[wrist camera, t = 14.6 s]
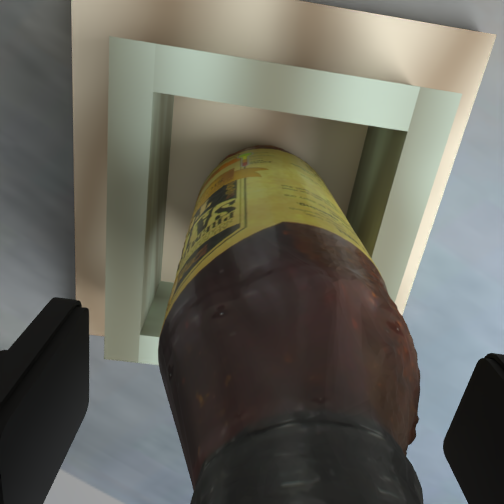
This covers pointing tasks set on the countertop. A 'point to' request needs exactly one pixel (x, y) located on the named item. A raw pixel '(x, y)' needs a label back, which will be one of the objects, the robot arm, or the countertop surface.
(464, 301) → the countertop surface
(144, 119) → the tray
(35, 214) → the countertop surface
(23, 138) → the countertop surface
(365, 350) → the sauce bottle
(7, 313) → the countertop surface
